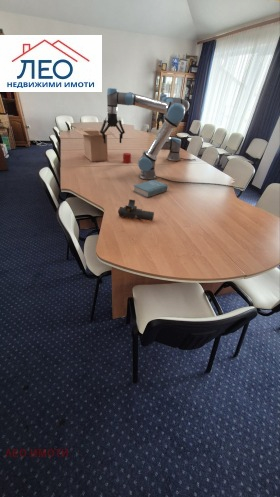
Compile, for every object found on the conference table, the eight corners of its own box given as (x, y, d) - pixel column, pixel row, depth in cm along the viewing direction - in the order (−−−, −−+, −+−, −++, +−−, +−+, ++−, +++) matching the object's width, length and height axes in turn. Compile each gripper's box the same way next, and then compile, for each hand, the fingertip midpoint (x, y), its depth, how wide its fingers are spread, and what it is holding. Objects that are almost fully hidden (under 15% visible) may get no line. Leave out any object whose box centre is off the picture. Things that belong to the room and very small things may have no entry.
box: (118, 161, 240) (118, 134, 224) (86, 164, 225) (83, 135, 209) (104, 152, 270) (103, 127, 254) (74, 153, 255) (72, 127, 239)
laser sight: (151, 224, 136) (153, 209, 130) (116, 219, 138) (116, 204, 132) (153, 217, 143) (155, 203, 137) (120, 212, 146) (120, 198, 140)
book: (152, 185, 190) (153, 179, 187) (167, 191, 181) (167, 185, 178) (133, 191, 176) (133, 185, 173) (147, 198, 167) (148, 191, 164)
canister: (123, 160, 245) (123, 152, 240) (130, 161, 246) (130, 153, 241) (123, 163, 238) (123, 154, 233) (130, 163, 239) (131, 155, 234)
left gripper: (125, 112, 177) (125, 141, 189) (95, 111, 168) (96, 142, 180) (129, 114, 171) (128, 143, 184) (97, 113, 162) (99, 144, 175)
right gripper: (154, 109, 265) (152, 128, 278) (164, 111, 247) (161, 132, 260) (160, 109, 268) (158, 128, 280) (170, 111, 250) (167, 132, 262)
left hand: (112, 143), depth 182 cm, fingers open, 13 cm apart
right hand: (160, 130), depth 270 cm, fingers open, 13 cm apart
